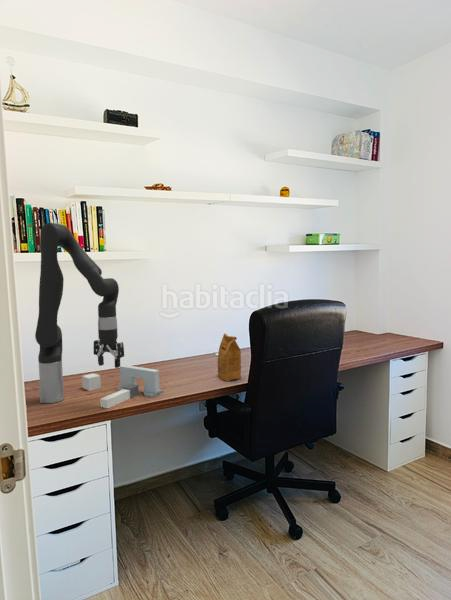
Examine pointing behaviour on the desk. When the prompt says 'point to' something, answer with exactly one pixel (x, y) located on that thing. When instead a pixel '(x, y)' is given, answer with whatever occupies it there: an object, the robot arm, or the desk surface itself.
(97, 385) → the white cube
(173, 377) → the desk surface
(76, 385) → the desk surface
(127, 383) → the port plate
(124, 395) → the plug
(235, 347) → the coffee package
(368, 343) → the desk surface
